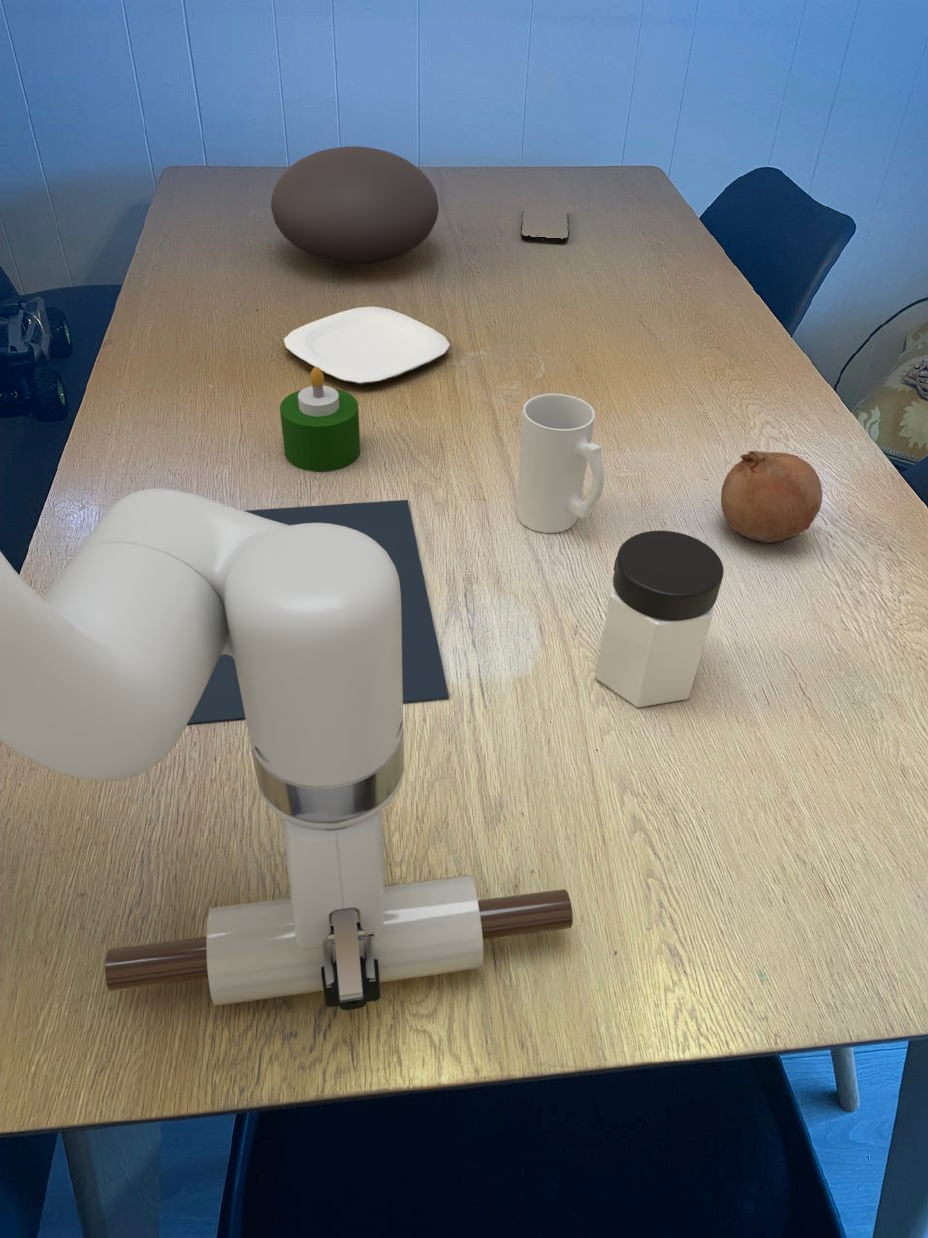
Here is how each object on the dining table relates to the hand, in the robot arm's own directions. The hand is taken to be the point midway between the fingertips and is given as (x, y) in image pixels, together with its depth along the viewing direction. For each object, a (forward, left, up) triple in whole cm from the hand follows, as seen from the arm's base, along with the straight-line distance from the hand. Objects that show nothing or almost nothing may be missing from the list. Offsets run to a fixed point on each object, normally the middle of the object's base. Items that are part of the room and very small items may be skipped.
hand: (347, 926), depth 59 cm
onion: (+59, +1, -2) cm, 59 cm away
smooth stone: (+81, +81, -2) cm, 115 cm away
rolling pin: (0, 0, -2) cm, 2 cm away
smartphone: (+112, +68, -2) cm, 131 cm away
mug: (+46, +17, -2) cm, 49 cm away
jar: (+34, -1, -2) cm, 34 cm away
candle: (+39, +44, -2) cm, 59 cm away
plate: (+59, +57, -2) cm, 82 cm away
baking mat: (+21, +27, -2) cm, 34 cm away
